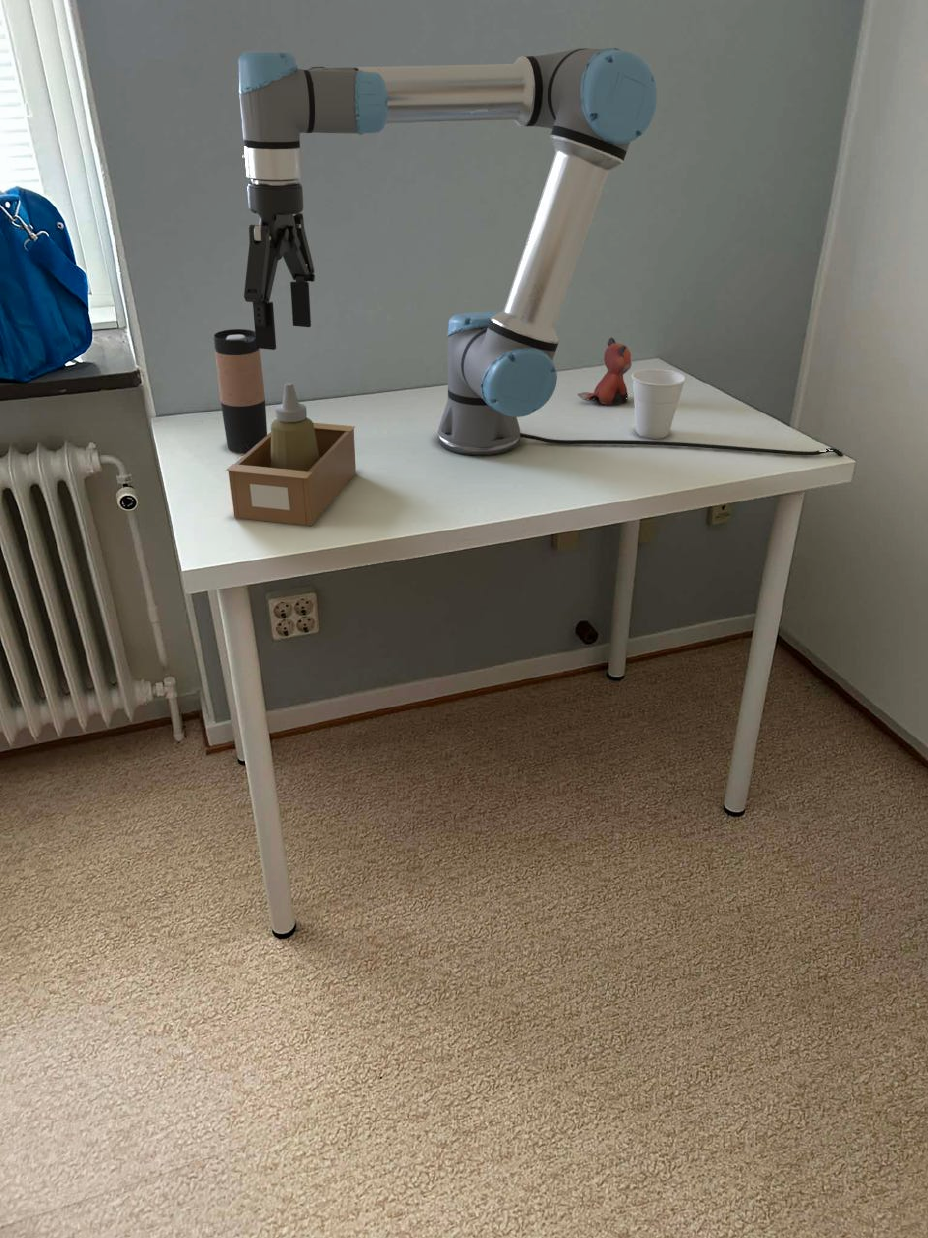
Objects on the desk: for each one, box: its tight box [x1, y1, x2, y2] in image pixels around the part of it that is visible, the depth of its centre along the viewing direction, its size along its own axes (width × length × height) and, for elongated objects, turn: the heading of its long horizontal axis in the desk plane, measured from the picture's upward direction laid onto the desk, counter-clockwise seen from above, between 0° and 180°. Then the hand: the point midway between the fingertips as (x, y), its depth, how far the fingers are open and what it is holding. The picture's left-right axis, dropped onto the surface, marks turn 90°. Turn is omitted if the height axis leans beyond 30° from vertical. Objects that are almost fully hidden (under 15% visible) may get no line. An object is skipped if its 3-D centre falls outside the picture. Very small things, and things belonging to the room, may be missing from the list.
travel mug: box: [213, 328, 268, 454], centre depth 168 cm, size 8×8×20 cm
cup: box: [631, 368, 687, 440], centre depth 179 cm, size 10×10×11 cm
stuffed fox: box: [577, 337, 632, 406], centre depth 195 cm, size 8×11×12 cm
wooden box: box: [225, 422, 357, 527], centre depth 153 cm, size 13×23×8 cm, turn 167°
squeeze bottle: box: [270, 382, 320, 472], centre depth 151 cm, size 8×8×18 cm
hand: (284, 337), depth 143 cm, fingers open, 13 cm apart
